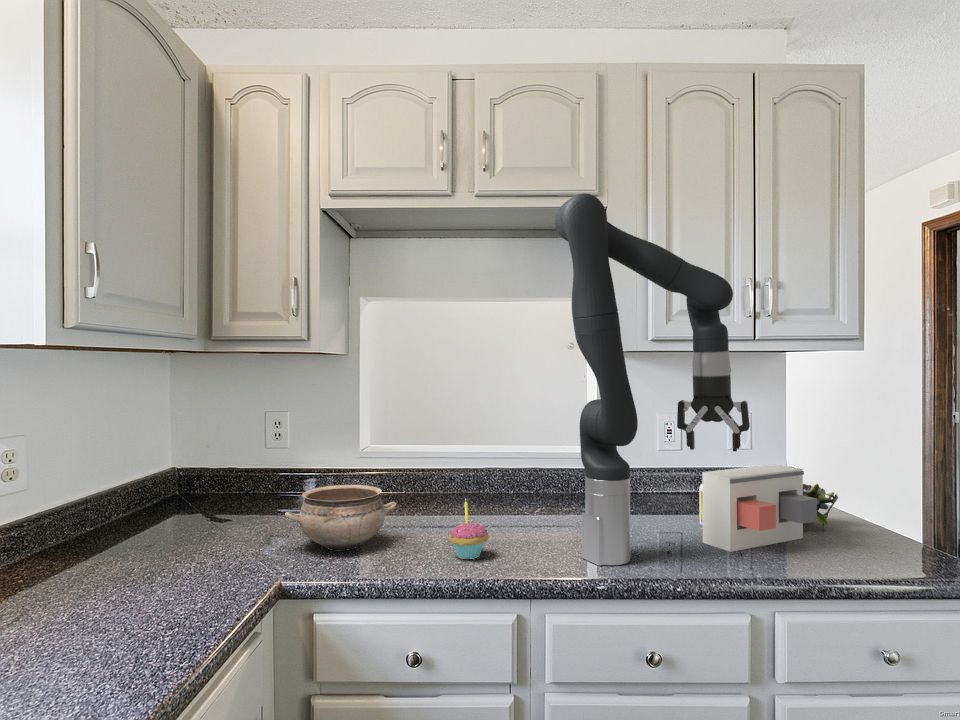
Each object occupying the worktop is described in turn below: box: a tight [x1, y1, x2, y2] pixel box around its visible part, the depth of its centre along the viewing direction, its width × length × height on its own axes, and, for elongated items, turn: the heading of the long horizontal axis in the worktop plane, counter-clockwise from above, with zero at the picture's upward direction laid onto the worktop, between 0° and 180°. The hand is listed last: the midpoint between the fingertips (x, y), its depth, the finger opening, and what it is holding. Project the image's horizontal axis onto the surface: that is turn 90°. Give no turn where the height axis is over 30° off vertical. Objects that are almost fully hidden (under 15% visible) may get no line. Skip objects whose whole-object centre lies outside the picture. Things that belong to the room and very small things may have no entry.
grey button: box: [779, 494, 818, 525], centre depth 148 cm, size 5×6×5 cm
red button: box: [737, 499, 776, 531], centre depth 143 cm, size 5×6×5 cm
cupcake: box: [448, 498, 490, 559], centre depth 141 cm, size 9×8×12 cm
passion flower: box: [803, 483, 839, 532], centre depth 163 cm, size 13×12×14 cm
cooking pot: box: [284, 484, 397, 551], centre depth 149 cm, size 25×19×12 cm
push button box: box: [701, 463, 805, 553], centre depth 151 cm, size 23×8×16 cm, turn 116°
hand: (713, 450), depth 139 cm, fingers open, 8 cm apart
